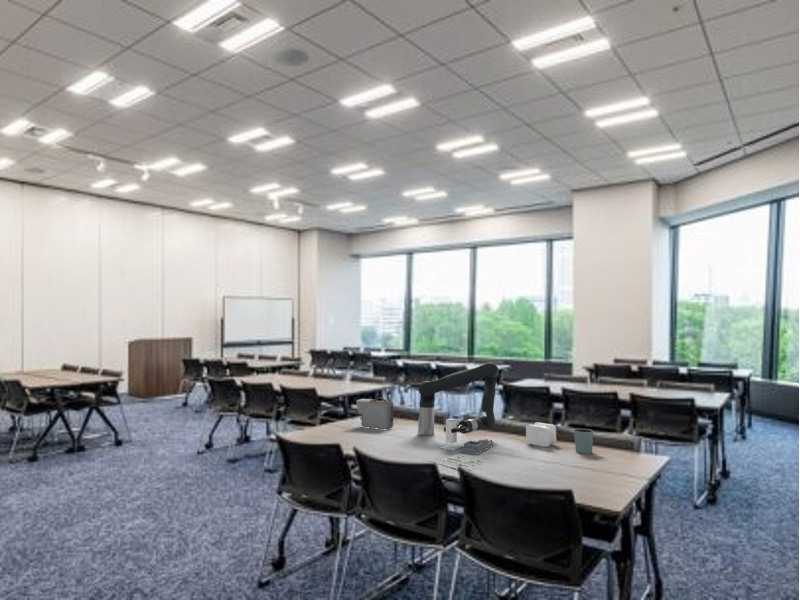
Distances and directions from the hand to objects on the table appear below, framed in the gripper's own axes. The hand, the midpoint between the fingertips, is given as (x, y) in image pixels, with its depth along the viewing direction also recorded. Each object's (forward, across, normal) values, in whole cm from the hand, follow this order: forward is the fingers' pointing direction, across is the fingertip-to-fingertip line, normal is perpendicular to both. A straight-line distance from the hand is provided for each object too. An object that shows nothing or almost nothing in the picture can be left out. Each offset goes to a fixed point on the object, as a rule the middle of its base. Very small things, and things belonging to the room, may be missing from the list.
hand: (448, 430), depth 306 cm
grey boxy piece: (-6, -73, +10) cm, 74 cm away
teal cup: (-50, +54, +11) cm, 75 cm away
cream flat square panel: (+13, +24, +11) cm, 29 cm away
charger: (-3, 0, +7) cm, 8 cm away
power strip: (-15, +11, +10) cm, 21 cm away
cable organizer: (-48, +29, +11) cm, 57 cm away
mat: (-2, 0, +10) cm, 11 cm away
